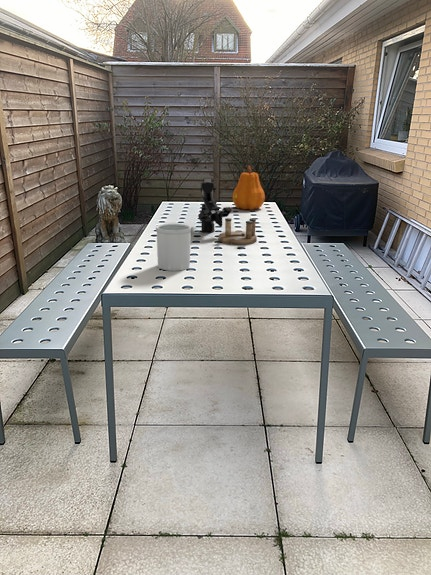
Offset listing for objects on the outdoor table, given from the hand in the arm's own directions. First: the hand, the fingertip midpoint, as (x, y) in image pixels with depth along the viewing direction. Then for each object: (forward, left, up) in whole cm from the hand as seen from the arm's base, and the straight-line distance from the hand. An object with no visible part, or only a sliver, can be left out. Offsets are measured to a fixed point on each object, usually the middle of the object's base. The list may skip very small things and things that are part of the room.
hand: (221, 226), depth 246 cm
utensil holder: (+2, -54, -7) cm, 55 cm away
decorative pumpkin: (-20, +94, -7) cm, 96 cm away
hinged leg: (+8, 0, -4) cm, 9 cm away
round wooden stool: (+9, +2, -7) cm, 11 cm away
